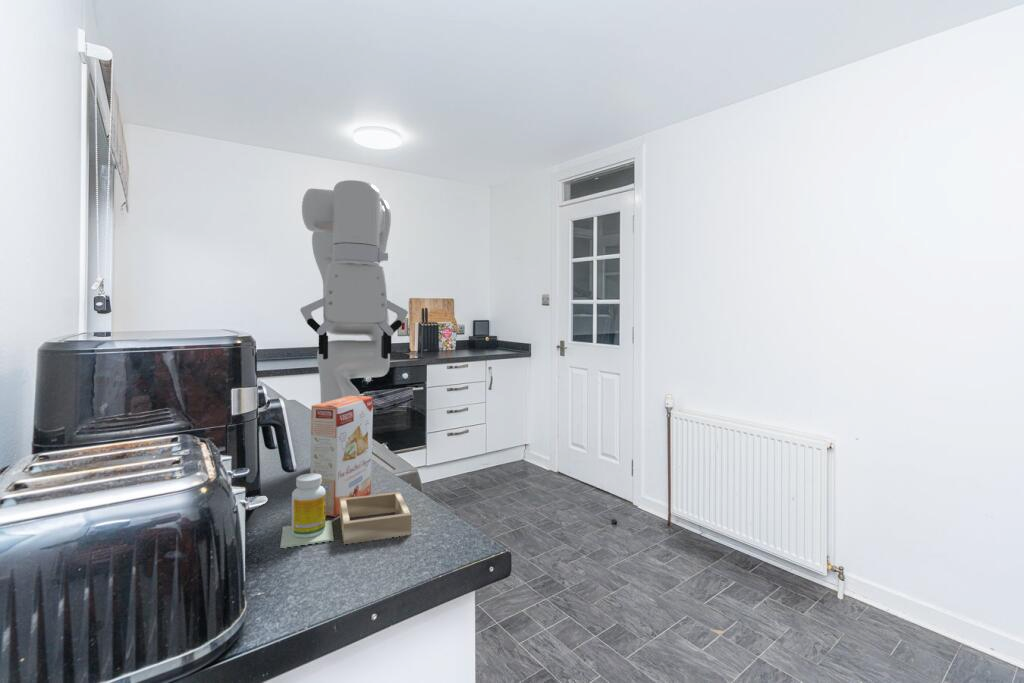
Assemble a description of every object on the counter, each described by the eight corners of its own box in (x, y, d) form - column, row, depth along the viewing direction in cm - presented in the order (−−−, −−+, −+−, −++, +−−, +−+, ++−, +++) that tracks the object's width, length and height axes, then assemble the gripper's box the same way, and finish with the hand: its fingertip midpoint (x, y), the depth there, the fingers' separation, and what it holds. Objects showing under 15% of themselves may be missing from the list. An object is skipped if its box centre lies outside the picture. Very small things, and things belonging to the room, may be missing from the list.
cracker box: (337, 518, 89) (337, 406, 88) (308, 515, 90) (308, 404, 90) (373, 492, 103) (374, 395, 102) (347, 490, 104) (348, 394, 103)
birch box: (339, 517, 90) (339, 498, 90) (399, 509, 94) (399, 491, 94) (343, 545, 79) (343, 524, 79) (411, 534, 83) (411, 514, 83)
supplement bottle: (286, 531, 83) (286, 476, 82) (318, 522, 86) (318, 469, 86) (298, 542, 79) (298, 484, 78) (330, 532, 82) (330, 477, 82)
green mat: (282, 528, 84) (282, 526, 84) (331, 522, 88) (331, 520, 87) (280, 549, 77) (280, 546, 77) (333, 541, 80) (333, 538, 80)
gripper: (403, 263, 88) (402, 356, 89) (301, 256, 82) (300, 357, 82) (411, 258, 81) (410, 359, 82) (300, 250, 75) (299, 361, 75)
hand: (355, 358), depth 82 cm, fingers open, 9 cm apart
